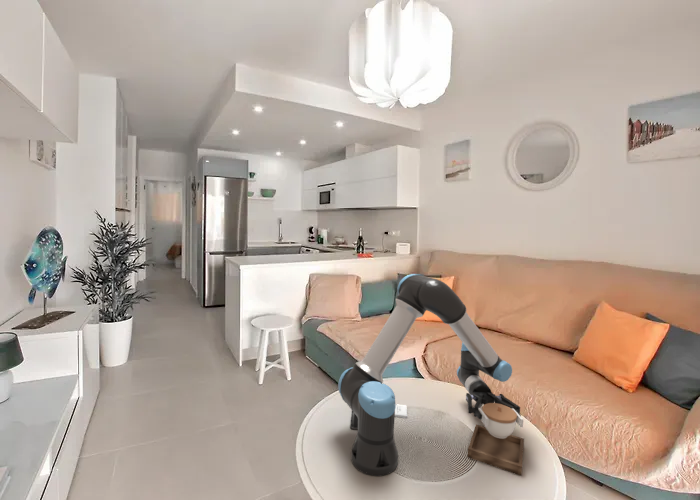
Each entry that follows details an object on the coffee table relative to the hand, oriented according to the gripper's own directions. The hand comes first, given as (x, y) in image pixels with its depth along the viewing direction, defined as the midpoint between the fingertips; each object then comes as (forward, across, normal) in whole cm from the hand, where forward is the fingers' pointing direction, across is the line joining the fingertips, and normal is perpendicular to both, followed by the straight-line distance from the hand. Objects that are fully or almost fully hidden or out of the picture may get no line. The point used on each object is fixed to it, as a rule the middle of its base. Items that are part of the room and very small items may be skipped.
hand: (504, 423), depth 111 cm
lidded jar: (-4, 0, -6) cm, 7 cm away
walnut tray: (-4, 0, -13) cm, 13 cm away
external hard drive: (-28, +33, -13) cm, 45 cm away
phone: (-22, +45, -13) cm, 52 cm away
